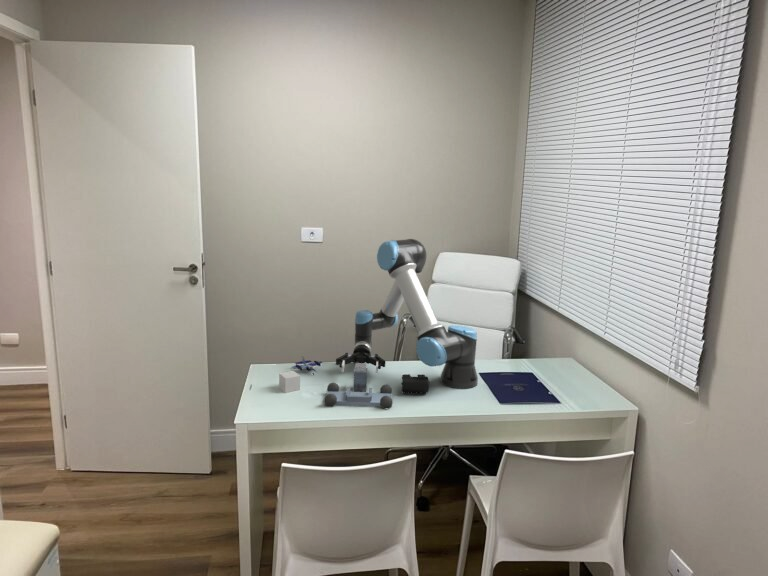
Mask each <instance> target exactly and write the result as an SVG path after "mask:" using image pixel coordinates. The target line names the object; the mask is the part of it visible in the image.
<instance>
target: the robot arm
mask: <svg viewBox="0 0 768 576" xmlns="http://www.w3.org/2000/svg"><path fill="white" fill-rule="evenodd" d="M376 259H377V264H378V266H379V268H380V269H381V270H383V271H386V272H388V275H389V277H390V279H391V278H392V279H394V281H393V284H392V285H391V288H390V290H389V292H388V294H387V296H386V298H385V300H384V302H383V304H382V305H381V309H380V310H379V311H378V312H376V313H373V312H372V311H371V310H366V309H360V310H357V312H356V313H355V320H354V322H355V323H354V325H355V326H354V347H353V352H352V354H349V352H345V354H343V355H341V356H339V357H337V358H336V359H335V365H336V366H338V367H339V368H341V373H344V370H345V368H346V367H345V366H346V365H349V364H356V363H364V364H366V365H367V364H371V365H372V366H374V367H375V374H378V373H379V370H381V369H382V368H386V360H385V359H383V358H382V357H380V356H379V355H378V354H377V353H375V354H374V355H372V354H371V353H372V345H373V342H372V338H373V332H374V331H377V330H382V329H389V328H392V327H395V326H396V325H397V324H398V322H399V315H398V313H399V311H400V309H401V307H402V306H403V304H404V301H405V304H406V307H407V309H408V311H409V313H410V315H411V318H412V320H413V323H414V325H415V327H416V330H417V331H418V334H417V337H416V338H417V342H416V348H415V349H416V350H415V351H416V355H417V357H418V358H419V360H420V361H421V362H422V363H423V364H424V365H426V366H428V367H438V366H439V367H440V366H442V365H444V366H443V369H442V371H441V373H440V382H441V383H442V384H443V385H445V386H447V387H449V388H456V389H472V388H474V387H476V386H478V384H479V383H478V380H479V376H478V374H477V370H476V365H475V363H476V354H477V353H476V351H477V341H478V339H477V337H478V335H477V331H476V330H475V329H474V328H472V327H469V326H463V325H456V324H453V325H449V326H448V328H446V326H445V325H444V324H441V323H439V321H438V319H437V316H436V315H435V312H434V310H433V307H432V306H431V303H430V301H429V299H428V297H427V294H426V292H425V290H424V288H423V285H422V283H421V281H420V279H419V277H418V275H419V274H421V273H422V271H423V269H424V267H425V265H426V262H427V250H426V248H425V246H424V244H423V243H422V242H421V241H419V240H418V239H414V238H407V239H406V238H405V239H398V240H396V239H391V240H387V241H384V242H382V243H381V244H380V245H379V247H378V250H377V254H376Z"/></svg>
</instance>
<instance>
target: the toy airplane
mask: <svg viewBox="0 0 768 576" xmlns="http://www.w3.org/2000/svg"><path fill="white" fill-rule="evenodd" d="M294 364H295V365H294V366H291V369H292V370H293V369H297V370H300V371H303V369H305V370H306V371H309V372H311V375H312V374H313V375H312V376H315V372H317V373H318V371H317V370H316V369H315V367H316V366H318V367H321V366H322V364H323V362H322V361H319V360H318V361H317V360H314V361H313V362H312V361H311V360H305V357H304V356H303V355H301V361H297V362H295V363H294Z"/></svg>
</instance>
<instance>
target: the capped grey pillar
mask: <svg viewBox="0 0 768 576" xmlns="http://www.w3.org/2000/svg"><path fill="white" fill-rule="evenodd" d="M367 380H368V367H367V363H358V362H356V363H355V366H354V369H353V388H352V392H363V393H367V389H368V388H367V387H368V386H367V385H368V383H367V382H368V381H367Z"/></svg>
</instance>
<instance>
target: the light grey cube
mask: <svg viewBox="0 0 768 576" xmlns="http://www.w3.org/2000/svg"><path fill="white" fill-rule="evenodd" d="M278 388H279V389H280V390H281V391H283V393H285V394H288V393H293V392H298V391H301V375H300V374H299V373H297V372H296V371H295V370H291V371H285V372H279V373H278Z"/></svg>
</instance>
